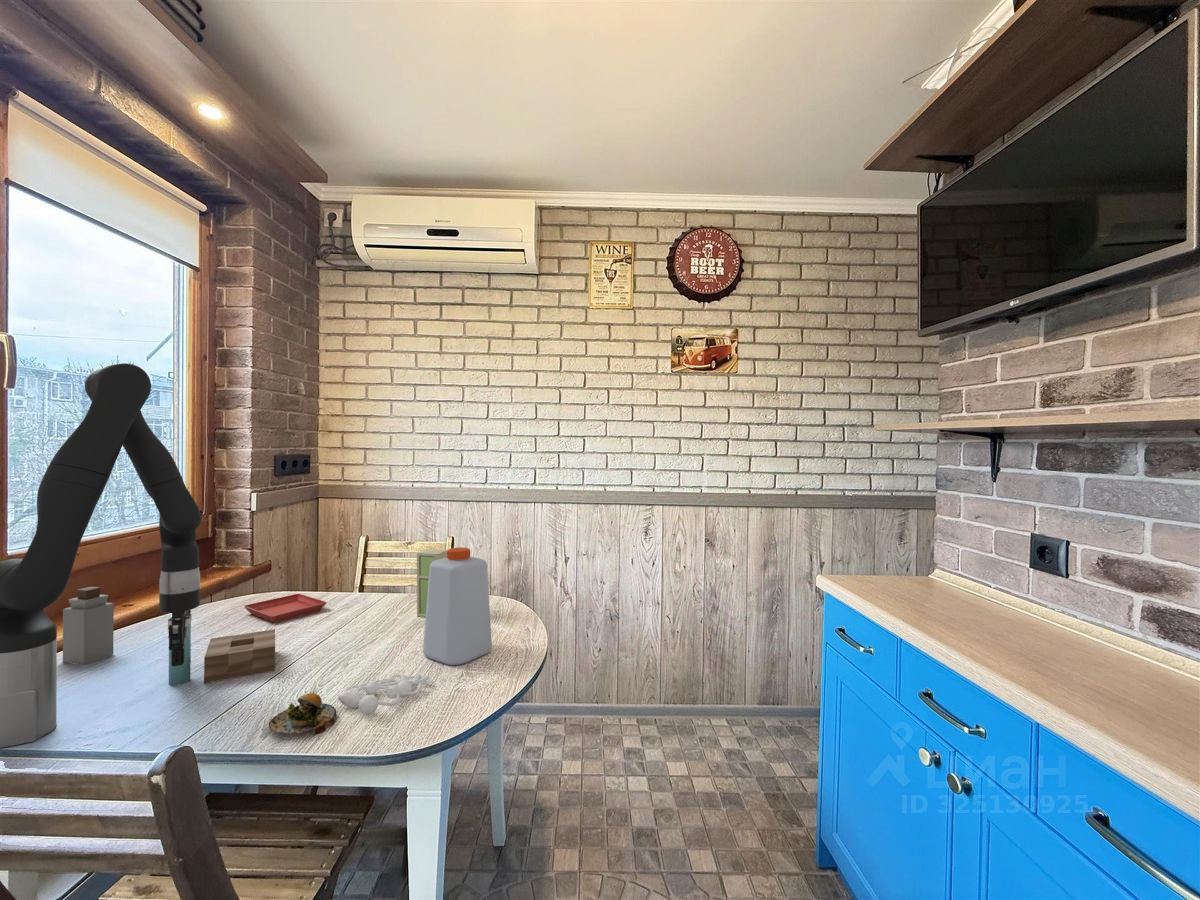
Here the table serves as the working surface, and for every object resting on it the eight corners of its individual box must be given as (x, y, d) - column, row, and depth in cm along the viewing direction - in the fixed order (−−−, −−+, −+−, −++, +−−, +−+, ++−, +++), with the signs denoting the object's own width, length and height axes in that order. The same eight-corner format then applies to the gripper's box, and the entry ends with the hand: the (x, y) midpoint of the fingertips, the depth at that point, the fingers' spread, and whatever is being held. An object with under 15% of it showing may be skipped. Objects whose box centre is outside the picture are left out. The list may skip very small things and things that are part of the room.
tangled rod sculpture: (404, 678, 131) (404, 661, 132) (444, 688, 124) (444, 669, 124) (328, 707, 115) (327, 688, 115) (368, 721, 107) (368, 700, 108)
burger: (261, 725, 107) (262, 687, 107) (325, 705, 115) (325, 670, 115) (278, 750, 98) (278, 709, 98) (345, 726, 106) (346, 689, 106)
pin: (189, 682, 124) (189, 618, 124) (167, 686, 122) (167, 621, 122) (191, 676, 128) (191, 613, 128) (170, 680, 126) (170, 616, 125)
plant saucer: (328, 611, 179) (328, 601, 179) (271, 626, 164) (271, 615, 164) (298, 602, 189) (298, 593, 189) (242, 615, 174) (242, 605, 174)
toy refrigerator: (414, 617, 173) (415, 552, 173) (428, 610, 180) (428, 548, 180) (436, 619, 171) (436, 554, 171) (448, 613, 178) (449, 549, 178)
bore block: (274, 670, 131) (275, 646, 131) (204, 683, 124) (204, 657, 124) (275, 651, 143) (275, 629, 143) (210, 662, 136) (210, 638, 136)
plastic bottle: (498, 650, 146) (499, 548, 146) (455, 669, 133) (456, 557, 133) (460, 639, 154) (461, 542, 154) (416, 656, 141) (416, 550, 141)
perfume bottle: (83, 664, 133) (84, 592, 133) (62, 662, 135) (63, 591, 135) (113, 654, 140) (113, 586, 140) (92, 652, 141) (93, 584, 141)
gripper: (196, 593, 121) (195, 668, 121) (203, 579, 133) (203, 647, 133) (153, 598, 117) (153, 675, 117) (165, 583, 129) (164, 653, 129)
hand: (179, 660), depth 125 cm, fingers open, 5 cm apart
